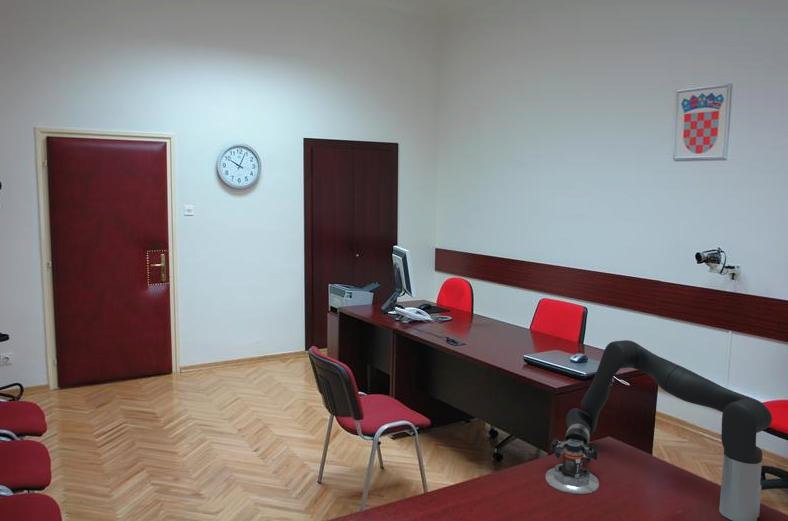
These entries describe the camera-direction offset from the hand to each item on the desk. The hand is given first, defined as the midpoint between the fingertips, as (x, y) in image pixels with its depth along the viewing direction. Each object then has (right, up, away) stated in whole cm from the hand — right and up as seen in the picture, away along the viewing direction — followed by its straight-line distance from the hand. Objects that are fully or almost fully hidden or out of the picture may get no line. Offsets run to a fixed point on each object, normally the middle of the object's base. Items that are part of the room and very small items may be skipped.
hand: (572, 457), depth 180 cm
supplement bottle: (+1, -7, +3) cm, 8 cm away
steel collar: (+1, -8, +3) cm, 9 cm away
